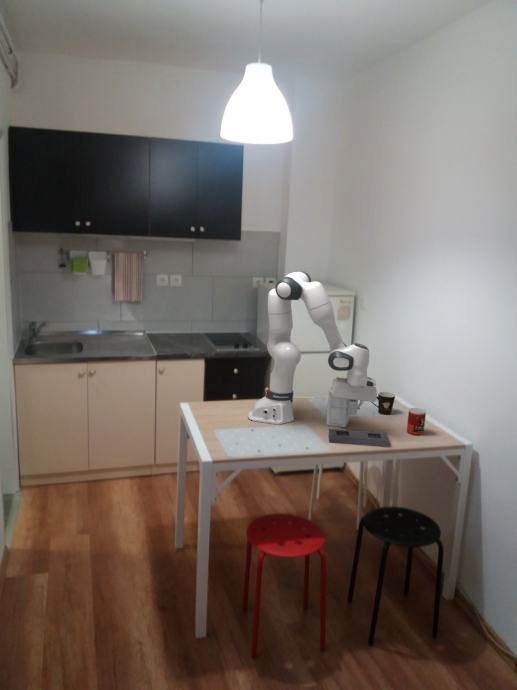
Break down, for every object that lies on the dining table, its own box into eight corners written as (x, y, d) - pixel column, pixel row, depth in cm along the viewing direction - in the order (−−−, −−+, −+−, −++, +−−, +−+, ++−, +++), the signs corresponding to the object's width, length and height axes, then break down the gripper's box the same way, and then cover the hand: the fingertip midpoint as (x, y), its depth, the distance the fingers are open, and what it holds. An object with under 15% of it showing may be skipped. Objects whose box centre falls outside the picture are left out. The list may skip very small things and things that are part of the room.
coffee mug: (395, 412, 296) (397, 394, 294) (389, 417, 289) (391, 398, 287) (374, 407, 302) (376, 389, 300) (368, 412, 295) (370, 393, 293)
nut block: (347, 413, 261) (349, 400, 260) (346, 411, 265) (348, 397, 264) (356, 414, 261) (358, 401, 260) (355, 412, 265) (357, 398, 264)
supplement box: (348, 421, 280) (351, 388, 276) (345, 427, 271) (348, 393, 268) (329, 418, 283) (331, 385, 279) (325, 424, 274) (328, 391, 270)
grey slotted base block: (328, 442, 253) (329, 436, 252) (328, 434, 261) (328, 428, 261) (388, 447, 251) (389, 440, 250) (385, 439, 260) (386, 433, 259)
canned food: (414, 436, 265) (417, 414, 262) (402, 430, 271) (405, 408, 269) (427, 434, 268) (429, 412, 266) (415, 428, 275) (417, 406, 272)
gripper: (333, 378, 257) (329, 408, 260) (379, 383, 256) (375, 413, 259) (332, 375, 263) (329, 403, 266) (377, 380, 262) (373, 409, 265)
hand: (352, 408), depth 263 cm, fingers closed on nut block, 4 cm apart
